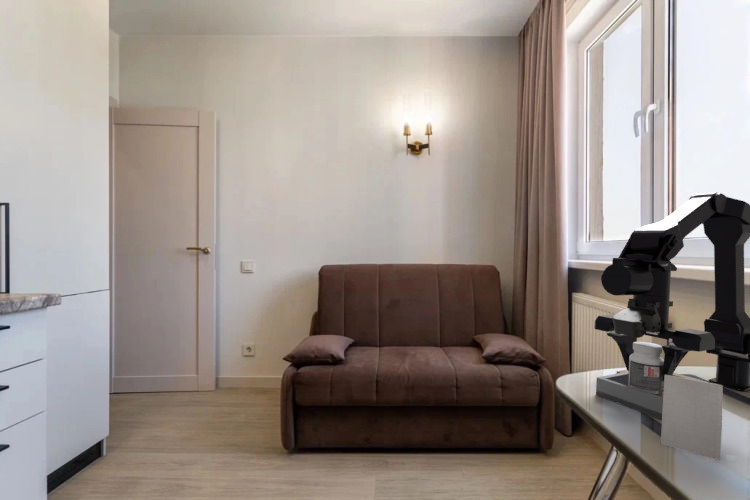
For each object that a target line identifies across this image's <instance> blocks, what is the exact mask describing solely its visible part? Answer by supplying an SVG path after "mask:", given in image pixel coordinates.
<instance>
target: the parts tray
mask: <svg viewBox="0 0 750 500" xmlns="http://www.w3.org/2000/svg"><path fill="white" fill-rule="evenodd" d="M616 373H617V372H616ZM616 373H613V374H608V375H603V376H602V375H601V376H597V377H596V385H595V387H596V388H595V395H596V396H597V397H600V398H603V399H606V400H608V401H610V402H614V403H617V404H619V405H621V406H623V407H624V406H625V407H627V408H629V409H632V410H635V411H638V412H640V413H643V414H645V415H648V416H651V417H653V418H657V419H659V420H661V421H662V410H663V396H661V397H660V396H657V395H654V394H651V393H648V392H645V391H642V390H639V389H636V388H633V387H629V386H628V374H629V371H628V372H623V373H617V374H616Z"/></svg>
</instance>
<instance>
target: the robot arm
mask: <svg viewBox="0 0 750 500" xmlns="http://www.w3.org/2000/svg"><path fill="white" fill-rule="evenodd" d="M701 225H703V231H704V232H703V233H704V234H705V236H706V237H707V238H708V240H709V241H710V242H711V244H712V245H713V258H714V259H713V261H714V262H713V265H714V266H713V267H714V268H713V269H714V273H713V274H714V312H713V313H712V314H711V315H710V316H709V318H705V319H704V321H703V326H704V328H703V329H704V330H703V331H702V330H697V329H692V328H684V329H683V328H682V329H676V330H672V328H673V323H672V322H670V321H669V315H670V307H673V306H674V301H673V300H670V297H671V296H670V295H671V294H670V292H671V275H672V272H677V271H678V267H677V266H676V265H675V264H674V263H672V262H671V260H673V259H674V258H675V257H676V256H677V255H678V254H679V253H680V252H681V250H682V249H683V248H684V246H685V243H684V239H685V238H686V237H687V236H688V235H690V233H692V232H693V231H695V230H696V229H697V228H698V227H699V226H701ZM749 239H750V203H748V202H746V201H744V200H740V199H736V198H732V197H729V196H726V195H725V194H723V193H719V192H716V191H715V192H707V193H706V192H705V193H696V194H695V193H694V195H691V196H690V197H689V199H688V200H687V201H686V202H685V203H683V204H682V205H681V206H679V207H678V208H677V209H675V210H674V211H673V212H671V213H670V214H669V215H667V216H666V217H664V218H663V219H662V220H660V221H658V222H654V223H651V224H647V225H643V226H641V227H639V228H636V229H634V230H633V232H631V234H630V236H629V238H628V240H627V241H626V244H625V246H624V247H623V249H622V251H621V252H620V254H619V256H618V257H613V258H612V263H611V264H610V265H608V266H607V267H605V269H604V270H603V272H602V275H601V277H600V280H601V285H602V287H603V289H604V290H605V292H607V293H608V294H610V295H612V296H632V297H631V298H628V301H627V307H626V308H625V309H624V308H623V309H621V310H620V311H618V312H617V313H616V314H604V315H597V317H596V319H595V320H594V327H593V328H594V329H595V330H597V331H601V332H606V336H607V337H610V338H611V339H612V340H613V341H615V343H616V344H617V346H618V348H619V350H620V351H619V352H620V353H621V357H622V360H623V363H624V365H625V368H626V369H625V370H627V371H629V356H630V355H631V354H632V353H634V350H633V342H638V339H639V338H642V337H643V336H649V337H654V338H657V339H662V340H668V344H667V345H661V346H662V352H663V355H664V357H663V360H664V365H663V381H664V376H665V375H670V376H672V374H673V373H675V371H676V369H677V368H678V366H679V365H680V363H681V361H682V360H683V358H685V357H686V356H687V354H688V353H689V352H706V354H711V355H716V369H715V370H716V371H715V377H714V378H709V379H708V381H707V382H709V383H714V384H719V385H723V387H726V388H727V387H728V388H730V389H734V390H739V391H741V392H747V391H750V316H749V315H748V314H747V313H746V311H745V308H746V307H745V306H746V305H745V301H746V300H745V299H746V298H745V296H746V295H745V244H746V242H747V241H748V240H749Z"/></svg>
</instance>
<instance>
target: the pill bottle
mask: <svg viewBox="0 0 750 500" xmlns="http://www.w3.org/2000/svg"><path fill="white" fill-rule="evenodd" d="M662 346H663V345H661V344H658V343H654V342H647V341H637V342H633V350H634V353H632V354H631V355H630V356H629V374H628V386H629V387H633V388H636V389H639V390H642V391H645V392H648V393H651V394H654V395H657V396H660V397H661V396H663V393H664V381H663V365H664V357H661V355H662V353H663V349H662Z"/></svg>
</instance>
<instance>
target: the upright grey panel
mask: <svg viewBox="0 0 750 500" xmlns="http://www.w3.org/2000/svg"><path fill="white" fill-rule="evenodd" d="M703 381H704V380H702V381H697V380H692V379H687V378H681V377H676V376H670V375H665V376H664V393H663V410H662V420H661V431H660V432H661V433H660V445H664V446H668V447H671V448H675V449H679V450H682V451H686V452H689V453H693V454H696V455H697V454H698V455H700V456H703V457H707V458H710V459H711V458H712V459H716V460H721V447H722V432H723V431H722V430H723V429H722V428H723V427H722V426H723V397H724V396H723V393H724V392H723V391H724V386H723V385H719V384H715V383H711V382H709V381H706V382H703ZM708 382H709V383H708Z"/></svg>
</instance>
